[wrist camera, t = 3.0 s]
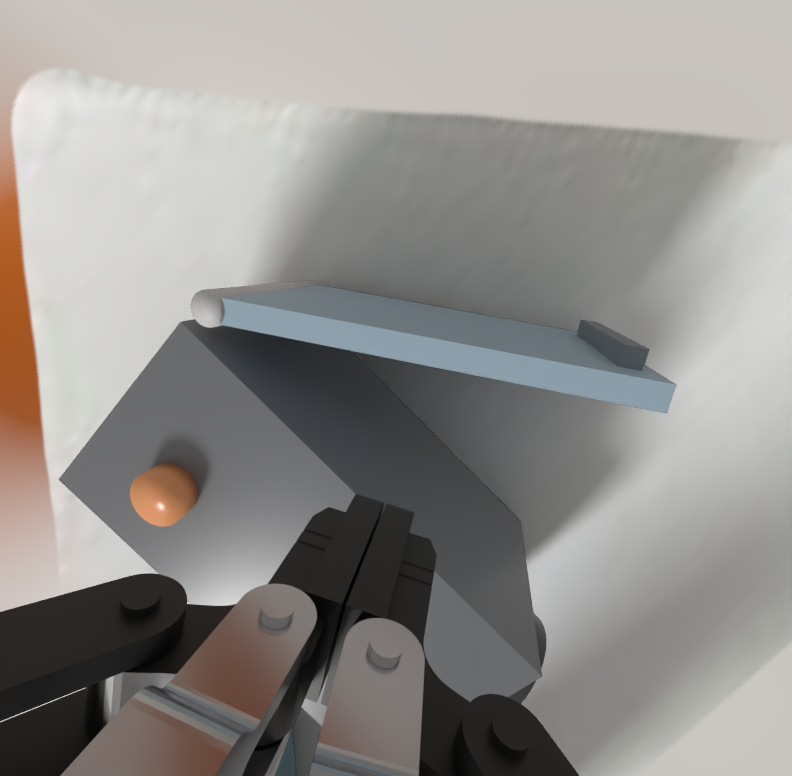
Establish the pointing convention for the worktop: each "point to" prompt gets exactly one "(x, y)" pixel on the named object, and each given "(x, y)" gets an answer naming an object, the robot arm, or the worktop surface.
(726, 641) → the worktop surface
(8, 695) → the robot arm
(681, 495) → the worktop surface
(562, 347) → the side door
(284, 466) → the camera housing
